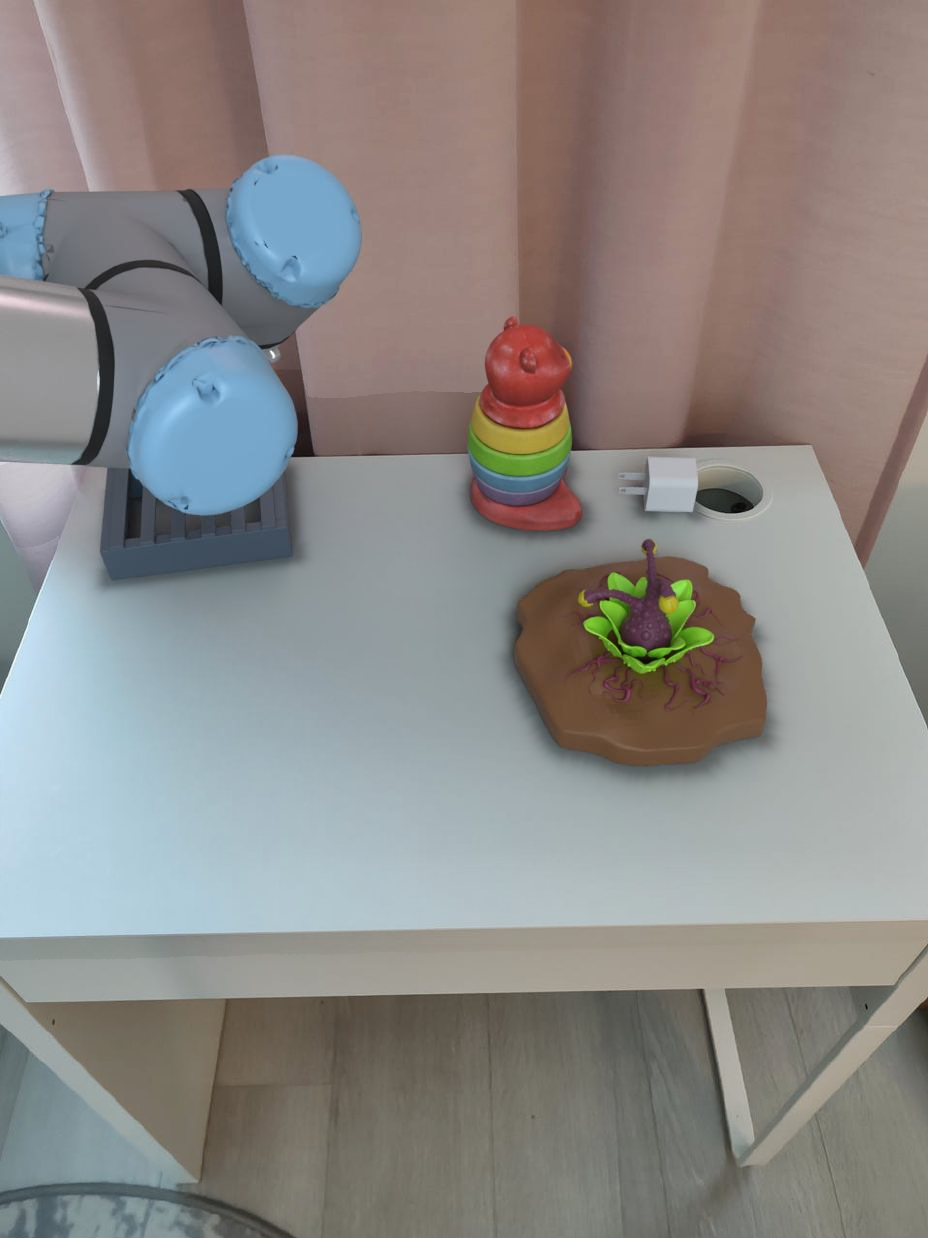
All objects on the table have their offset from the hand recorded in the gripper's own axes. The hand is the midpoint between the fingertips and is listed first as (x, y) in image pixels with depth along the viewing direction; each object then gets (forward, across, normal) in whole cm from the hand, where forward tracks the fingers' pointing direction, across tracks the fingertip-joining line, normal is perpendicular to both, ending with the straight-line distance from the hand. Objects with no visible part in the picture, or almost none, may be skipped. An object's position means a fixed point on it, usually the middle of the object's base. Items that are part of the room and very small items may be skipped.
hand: (153, 409), depth 86 cm
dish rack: (+6, 0, -10) cm, 12 cm away
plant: (-22, +15, -38) cm, 47 cm away
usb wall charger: (-14, +32, -30) cm, 46 cm away
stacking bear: (-7, +23, -24) cm, 34 cm away
